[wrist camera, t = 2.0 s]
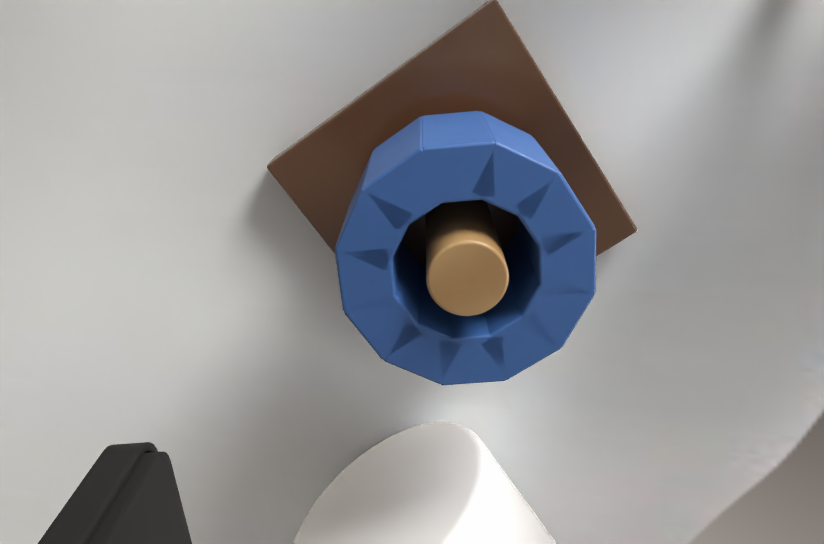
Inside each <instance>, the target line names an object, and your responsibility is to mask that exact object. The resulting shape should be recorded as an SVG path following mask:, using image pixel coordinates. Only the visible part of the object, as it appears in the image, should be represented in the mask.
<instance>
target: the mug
mask: <svg viewBox="0 0 824 544" xmlns="http://www.w3.org/2000/svg"><path fill="white" fill-rule="evenodd" d="M293 544H557V543H556V542H555V540H554V539H553V538H552V536H551V535H550V533H549V532H548V531H547V529H546V528H545V527H544V525H543V524H542V522H541V521H540V520H539V518H538V517H537V516H536V514H535V513H534V512H533V510H532V509H531V507H530V506H529V505H528V503H527V502H526V501H525V499H524V498H523V497H522V495H521V494H520V492H519V491H518V490H517V488H516V487H515V486H514V484H513V483H512V481H511V480H510V479H509V477H508V476H507V475H506V473H505V472H504V471H503V469H502V468H501V466H500V465H499V464H498V462H497V461H496V460H495V458H494V457H493V455H492V454H491V453H490V451H489V450H488V449H487V447H486V446H485V445H484V443H483V442H482V440H481V439H480V438H479V437H478V436H477V435H476V434H475V433H474V432H473V431H471V430H470V429H468V428H466V427H464V426H462V425H459V424H456V423H450V422H433V423H426V424H422V425H418V426H414V427H411V428H408V429H406V430H403V431H401V432H399V433H396V434H394V435H392V436H390V437H388V438H387V439H385V440H383V441H381V442H380V443H378V444H376V445H375V446H373V447H372V448H370V449H369V450H367V451H366V452H365V453H363V454H362V455H361V456H359V457H358V458H357V459H356V460H354V461H353V462H352V463H351V464H350V465H349V466H347V467H346V468H345V469H344V470H343V471H342V472H341V473H340V474H339V475H338V476H337V477H336V478H335V479H334V480H333V481H332V482H331V484H330V485H329V486H328V487H327V488H326V489H325V490H324V492H323V493H322V494H321V495H320V497H319V498H318V499H317V501H316V502H315V503H314V505H313V506H312V508H311V509H310V511H309V513H308V514H307V516H306V517H305V519H304V521H303V523H302V525H301V527H300V529H299V531H298V533H297V535H296V538H295V540H294V543H293Z"/></svg>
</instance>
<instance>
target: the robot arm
mask: <svg viewBox="0 0 824 544" xmlns="http://www.w3.org/2000/svg"><path fill="white" fill-rule="evenodd" d="M38 544H192V542H191V538H190V534H189V531H188V527H187V523H186V519H185V515H184V511H183V507H182V503H181V499H180V496H179V492H178V488H177V484H176V480H175V476H174V472H173V468H172V464H171V461H170V458H169V456H168V454H167V453H166V452H158V451H157V448H156V447H155V446H154V444H152V443H150V442H146V443H132V444H118V445H110V446H108V447H107V448H106V449H105V450H104V451H103V452H102V454H101V455H100V457H99V458H98V459H97V461H96V462H95V464H94V465H93V466H92V468H91V469H90V471H89V472H88V473H87V475H86V476H85V478H84V479H83V481H82V482H81V483H80V485H79V486H78V488H77V489H76V490H75V492H74V493H73V495H72V496H71V497H70V499H69V500H68V502H67V503H66V505H65V506H64V507H63V509H62V510H61V512H60V513H59V514H58V516H57V517H56V519H55V520H54V521H53V523H52V524H51V526H50V527H49V529H48V530H47V531H46V533H45V534H44V536H43V537H42V538H41V540H40V541H39V543H38Z"/></svg>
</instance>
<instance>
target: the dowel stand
mask: <svg viewBox="0 0 824 544" xmlns="http://www.w3.org/2000/svg"><path fill="white" fill-rule="evenodd" d="M470 111H482V112H484V113H486V114H489V115H491V116H493V117H495V118H497V119H499V120H501V121H503V122H505V123H507V124H509V125H511V126H514V127H516V128H518V129H520V130H522V131H524V132H526V133H528V134H530V135H531V136H532V137H533V138H535V140H536V141H537V142H538V144H539V145H540V146H541V148H542V149H543V150H544V151H545V153H546V154H547V155H548V157H549V158H550V159H551V160H552V162H553V163H554V164H555V166H556V167H557V168H558V170H559V171H560V172H561V173H562V175H563V177H564V178H565V180H566V181H567V183H568V184H569V186H570V188H571V189H572V191H573V192H574V194H575V195H576V197H577V199H578V200H579V202H580V203H581V205H582V206H583V208H584V210H585V211H586V213H587V214H588V216H589V217H590V219H591V221H592V222H593V224H594V225H595V228H596V256H597V255H599V254H600V253H602V252H604V251H605V250H607V249H609V248H610V247H612V246H614V245H615V244H617V243H619V242H620V241H622V240H623V239H625V238H627V237H628V236H630V235H632V234H633V233H635V232H636V231H637V228H636V226H635V224H634V223H633V221H632V220H631V218H630V216H629V215H628V213H627V211H626V210H625V208H624V207H623V205H622V203H621V202H620V200H619V198H618V197H617V195H616V193H615V192H614V190H613V189H612V187H611V185H610V184H609V182H608V180H607V179H606V177H605V176H604V174H603V172H602V171H601V169H600V167H599V166H598V164H597V163H596V161H595V159H594V158H593V156H592V154H591V153H590V151H589V150H588V148H587V146H586V145H585V143H584V141H583V140H582V138H581V136H580V135H579V133H578V132H577V130H576V128H575V127H574V125H573V123H572V122H571V120H570V119H569V117H568V115H567V114H566V112H565V110H564V109H563V107H562V106H561V104H560V102H559V101H558V99H557V97H556V96H555V94H554V93H553V91H552V89H551V88H550V86H549V84H548V83H547V81H546V79H545V78H544V76H543V75H542V73H541V71H540V70H539V68H538V66H537V65H536V63H535V62H534V60H533V58H532V57H531V55H530V53H529V52H528V50H527V49H526V47H525V45H524V44H523V42H522V40H521V39H520V37H519V36H518V34H517V32H516V31H515V29H514V27H513V26H512V24H511V22H510V21H509V19H508V18H507V16H506V14H505V13H504V11H503V9H502V8H501V6H500V5H499V3H498V1H497V0H489V1H488V2H487V3H485V4H484V5H483V6H481V7H480V8H478V9H477V10H476V11H474V12H473V13H472V14H470V15H469V16H468V17H466V18H465V19H463V20H462V21H461V22H459V23H458V24H457V25H455V26H454V27H453V28H451V29H450V30H448V31H447V32H446V33H444V34H443V35H442V36H440V37H439V38H438V39H436V40H435V41H433V42H432V43H431V44H429V45H428V46H427V47H425V48H424V49H423V50H421V51H420V52H418V53H417V54H416V55H414V56H413V57H412V58H410V59H409V60H408V61H406V62H405V63H403V64H402V65H401V66H399V67H398V68H397V69H395V70H394V71H392V72H391V73H390V74H388V75H387V76H386V77H384V78H383V79H382V80H380V81H379V82H377V83H376V84H375V85H373V86H372V87H371V88H369V89H368V90H367V91H365V92H364V93H362V94H361V95H360V96H358V97H357V98H356V99H354V100H353V101H352V102H350V103H349V104H347V105H346V106H345V107H343V108H342V109H341V110H339V111H338V112H337V113H335V114H334V115H332V116H331V117H330V118H328V119H327V120H326V121H324V122H323V123H322V124H320V125H319V126H317V127H316V128H315V129H313V130H312V131H311V132H309V133H308V134H307V135H305V136H304V137H302V138H301V139H300V140H298V141H297V142H296V143H294V144H293V145H292V146H290V147H289V148H287V149H286V150H285V151H283V152H282V153H281V154H279V155H278V156H276V157H275V158H274V159H273V160H272V161H271V162H270V163H269V164H268V166H267V168H268V170H269V171H270V172H271V174H272V175H273V176H274V177H275V179H276V180H277V181H278V182H279V184H280V185H281V186H282V188H283V189H284V190H285V191H286V193H287V194H288V195H289V196H290V198H291V199H292V200H293V201H294V203H295V204H296V205H297V206H298V208H299V209H300V210H301V212H302V213H303V214H304V215H305V217H306V218H307V219H308V220H309V222H310V223H311V224H312V225H313V227H314V228H315V229H316V230H317V232H318V233H319V234H320V236H321V237H322V238H323V239H324V241H325V242H326V243H327V244H328V246H329V247H330V248H331V249H332V251H333V252H334V253H335V246H336V243H337V240H338V237H339V234H340V231H341V228H342V225H343V222H344V219H345V217H346V214H347V211H348V208H349V205H350V202H351V199H352V196H353V194H354V192H355V190H356V187H357V185H358V183H359V181H360V179H361V176H362V174H363V172H364V170H365V167H366V165H367V163H368V161H369V158H370V156H371V154H372V152H373V150H374V149H375V148H376V147H378V146H379V145H380V144H382V143H383V142H385V141H386V140H388V139H389V138H390V137H392V136H393V135H395V134H396V133H397V132H399V131H400V130H402V129H403V128H404V127H406V126H407V125H409V124H410V123H412V122H413V121H414V120H416V119H417V118H419V117H421V116H425V115H436V114H447V113H459V112H470ZM516 230H517V216H516V215H514V214H512V213H510V212H507V211H505V210H503V209H501V208H499V207H497V206H494V205H492V204H490V203H488V202H486V201H483V200H472V201H460V202H448V203H441V204H440V205H438V206H437V207H435V208H434V209H432V210H431V211H429V212H428V213H426V214H425V215H423V216H422V217H420V218H419V219H417V220H416V221H414V222H413V223H411V224H410V225H409V226H408V228H407V230H406V232H405V234H404V236H403V238H402V240H403V242H404V243H405V244H406V246H407V247H408V248H409V250H410V251H411V252H412V254H413V255H414V256H415V258H416V259H417V260H418V262H420V263H422V264H424V265H426V282H427V288H428V291H429V293H430V295H431V297H432V299H433V300H434V301H435V302H436V304H438V305H439V306H440V307H441V308H442V309H444V310H446V311H448V312H450V313H452V314H456V315H460V316H473V315H478V314H481V313H484V312H486V311H488V310H490V309H491V308H493V307H494V306H495V305H496V304H497V303H498V302H499V301H500V300H501V299H502V297H503V296H504V294H505V292H506V290H507V286H508V282H509V272H508V267H507V264H506V261H505V257H504V252H505V250H506V248H507V246H508V244H509V243H510V241H511V239H512V237H513V235H514V233H515V232H516Z"/></svg>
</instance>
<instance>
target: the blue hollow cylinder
mask: <svg viewBox="0 0 824 544" xmlns="http://www.w3.org/2000/svg"><path fill="white" fill-rule="evenodd" d="M472 200H483V201H486V202H488V203H490V204H492V205H494V206H497V207H499V208H501V209H503V210H505V211H507V212H510V213H512V214H514V215H516V216H517V230H516V232H515V233H514V235H513V237H512V239H511V241H510V243H509V244H508V246H507V248H506V250H505V252H504V257H505V261H506V264H507V267H508V272H509V282H508V286H507V290H506V292H505V294H504V296H503V297H502V299H501V300H500V301H499V302H498V303H497V304H496V305H495V306H494V307H493V308H491V309H490V310H488V311H486V312H484V313H481V314H478V315H473V316H460V315H456V314H452V313H450V312H448V311H446V310H444V309H442V308H441V307H440V306H439V305H438V304H436V302H435V301H434V300H433V299H432V297H431V295H430V293H429V291H428V288H427V282H426V265H424V264H422V263H420V262H418V260H417V259H416V258H415V256H414V255H413V254H412V252H411V251H410V250H409V248H408V247H407V246H406V244H405V243H404V242H403V240H402V238H403V236H404V234H405V232H406V230H407V228H408V226H409V225H410V224H411V223H413V222H414V221H416V220H417V219H419V218H420V217H422V216H423V215H425V214H426V213H428V212H429V211H431V210H432V209H434V208H435V207H437V206H438V205H440V204H441V203H448V202H460V201H472ZM335 257H336V264H337V271H338V278H339V285H340V292H341V300H342V307H343V310H344V312H345V315H346V316H347V317H348V318H349V319H350V321H351V322H352V323H353V324H354V326H355V327H356V328H357V329H358V331H359V332H360V333H361V334H362V335H363V337H364V338H365V339H366V340H367V342H368V343H369V344H370V345H371V347H372V348H373V349H374V350H375V351H376V353H377V354H378V355H379V356H380V358H381V359H383V360H384V361H385V362H388V363H390V364H392V365H395V366H397V367H400V368H402V369H405V370H407V371H409V372H412V373H414V374H417V375H419V376H422V377H424V378H426V379H429V380H431V381H434V382H436V383H439V384H441V385H453V384H467V383H481V382H495V381H505V380H507V379H509V378H511V377H513V376H514V375H516V374H518V373H519V372H521V371H523V370H525V369H526V368H528V367H530V366H531V365H533V364H535V363H537V362H538V361H540V360H542V359H543V358H545V357H547V356H549V355H550V354H552V353H554V352H555V351H557V350H559V349H560V348H561V347H562V346H563V345H564V343H565V342H566V340H567V338H568V337H569V335H570V334H571V332H572V330H573V329H574V327H575V325H576V324H577V322H578V321H579V319H580V317H581V316H582V314H583V312H584V311H585V309H586V308H587V306H588V304H589V303H590V301H591V299H592V298H593V296H594V294H595V292H596V228H595V225H594V224H593V222H592V221H591V219H590V217H589V216H588V214H587V213H586V211H585V210H584V208H583V206H582V205H581V203H580V202H579V200H578V199H577V197H576V195H575V194H574V192H573V191H572V189H571V188H570V186H569V184H568V183H567V181H566V180H565V178H564V177H563V175H562V173H561V172H560V171H559V170H558V168H557V167H556V166H555V164H554V163H553V162H552V160H551V159H550V158H549V157H548V155H547V154H546V153H545V151H544V150H543V149H542V148H541V146H540V145H539V144H538V142H537V141H536V140H535V138H533V137H532V136H531V135H530V134H528V133H526V132H524V131H522V130H520V129H518V128H516V127H514V126H511V125H509V124H507V123H505V122H503V121H501V120H499V119H497V118H495V117H493V116H491V115H489V114H486V113H484V112H482V111H470V112H459V113H447V114H436V115H425V116H421V117H419V118H417V119H416V120H414V121H413V122H412V123H410V124H409V125H407V126H406V127H404V128H403V129H402V130H400V131H399V132H397V133H396V134H395V135H393V136H392V137H390V138H389V139H388V140H386V141H385V142H383V143H382V144H380V145H379V146H378V147H376V148H375V149H374V150H373V152H372V154H371V156H370V158H369V161H368V163H367V165H366V167H365V170H364V172H363V174H362V176H361V179H360V181H359V183H358V185H357V187H356V190H355V192H354V194H353V196H352V199H351V202H350V205H349V208H348V211H347V214H346V217H345V219H344V222H343V225H342V228H341V231H340V234H339V237H338V240H337V243H336V246H335Z"/></svg>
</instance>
